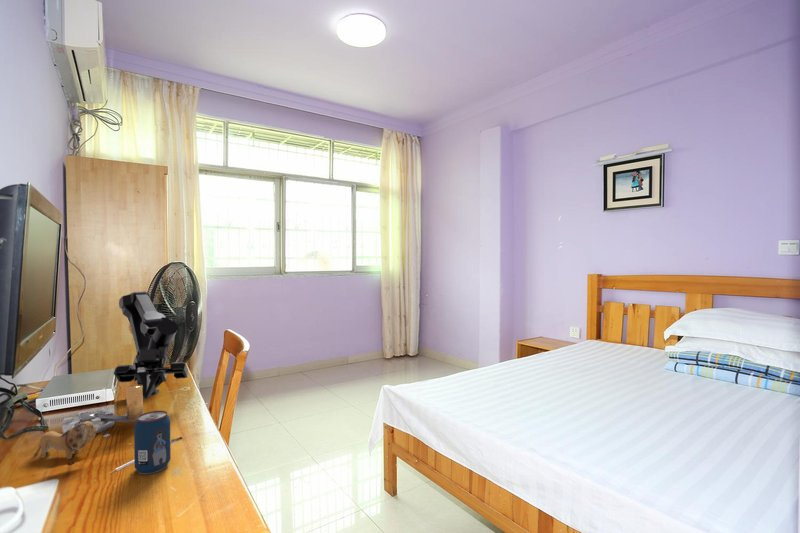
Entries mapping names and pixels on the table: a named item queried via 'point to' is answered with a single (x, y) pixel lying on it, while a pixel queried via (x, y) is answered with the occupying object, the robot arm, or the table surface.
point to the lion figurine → (68, 439)
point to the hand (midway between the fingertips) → (145, 398)
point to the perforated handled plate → (106, 418)
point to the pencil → (133, 460)
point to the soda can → (152, 442)
